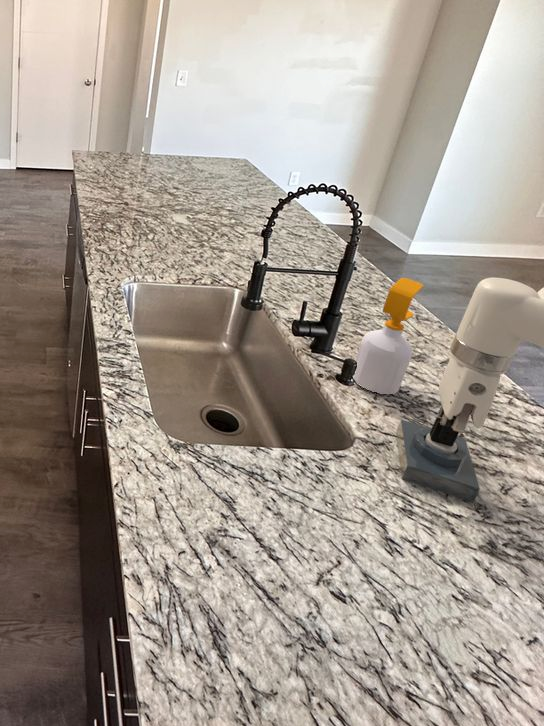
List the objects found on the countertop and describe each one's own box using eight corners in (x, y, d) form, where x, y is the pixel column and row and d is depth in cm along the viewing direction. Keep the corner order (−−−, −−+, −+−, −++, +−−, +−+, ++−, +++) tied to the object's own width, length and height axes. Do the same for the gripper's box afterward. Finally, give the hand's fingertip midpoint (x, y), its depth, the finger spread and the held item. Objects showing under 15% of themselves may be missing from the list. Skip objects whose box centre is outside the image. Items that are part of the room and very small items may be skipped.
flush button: (450, 446, 95) (455, 437, 94) (455, 463, 91) (459, 454, 90) (421, 437, 97) (425, 429, 96) (424, 453, 93) (428, 444, 92)
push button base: (459, 451, 98) (468, 430, 96) (472, 503, 88) (484, 480, 86) (395, 432, 103) (403, 411, 101) (401, 479, 92) (410, 457, 90)
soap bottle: (405, 386, 116) (445, 286, 106) (385, 401, 111) (424, 297, 101) (363, 365, 122) (396, 268, 112) (342, 378, 117) (375, 279, 107)
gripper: (522, 386, 78) (475, 479, 86) (498, 337, 90) (459, 422, 98) (460, 370, 81) (419, 461, 89) (444, 324, 93) (410, 408, 101)
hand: (440, 440), depth 93 cm, fingers closed
